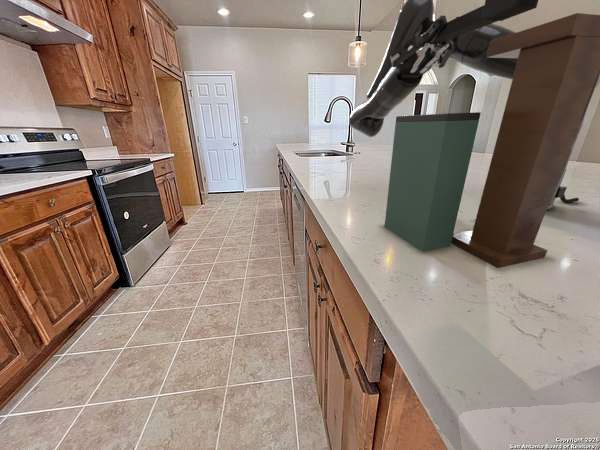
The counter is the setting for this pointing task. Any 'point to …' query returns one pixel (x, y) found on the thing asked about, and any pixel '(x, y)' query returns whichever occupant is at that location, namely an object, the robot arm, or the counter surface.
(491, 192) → the shelf stand
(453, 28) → the pad strip
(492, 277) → the counter surface
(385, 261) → the counter surface
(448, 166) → the dark green tall block
